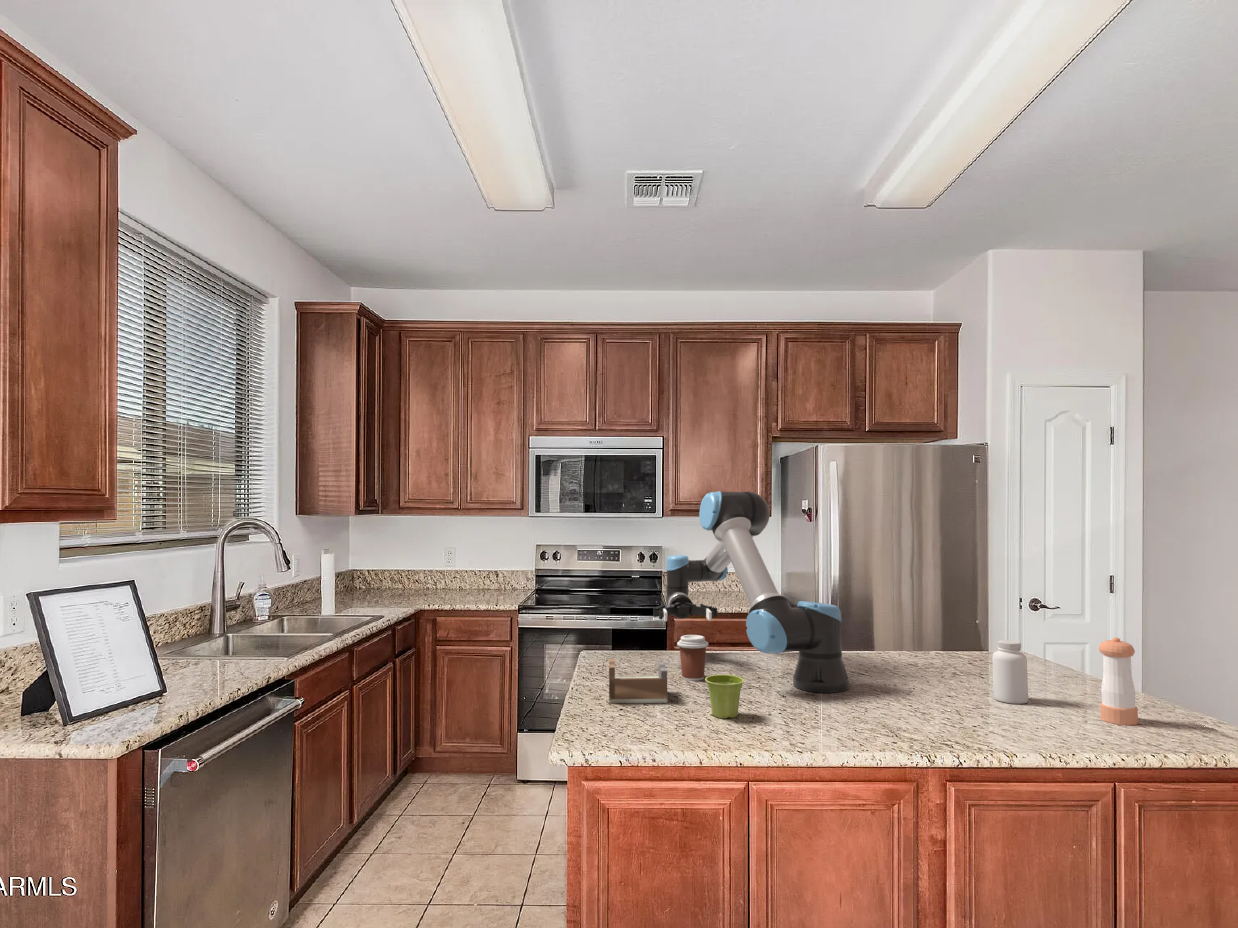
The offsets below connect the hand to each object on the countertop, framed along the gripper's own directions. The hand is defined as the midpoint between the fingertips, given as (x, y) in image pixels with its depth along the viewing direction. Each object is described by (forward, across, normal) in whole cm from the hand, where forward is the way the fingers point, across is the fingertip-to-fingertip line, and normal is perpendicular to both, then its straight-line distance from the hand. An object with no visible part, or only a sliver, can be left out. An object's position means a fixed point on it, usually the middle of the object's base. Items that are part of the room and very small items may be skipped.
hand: (688, 616), depth 230 cm
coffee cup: (+9, 0, -16) cm, 19 cm away
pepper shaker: (+57, -94, -15) cm, 111 cm away
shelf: (+23, +17, -16) cm, 33 cm away
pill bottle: (+38, -79, -15) cm, 89 cm away
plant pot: (+47, -3, -16) cm, 50 cm away
